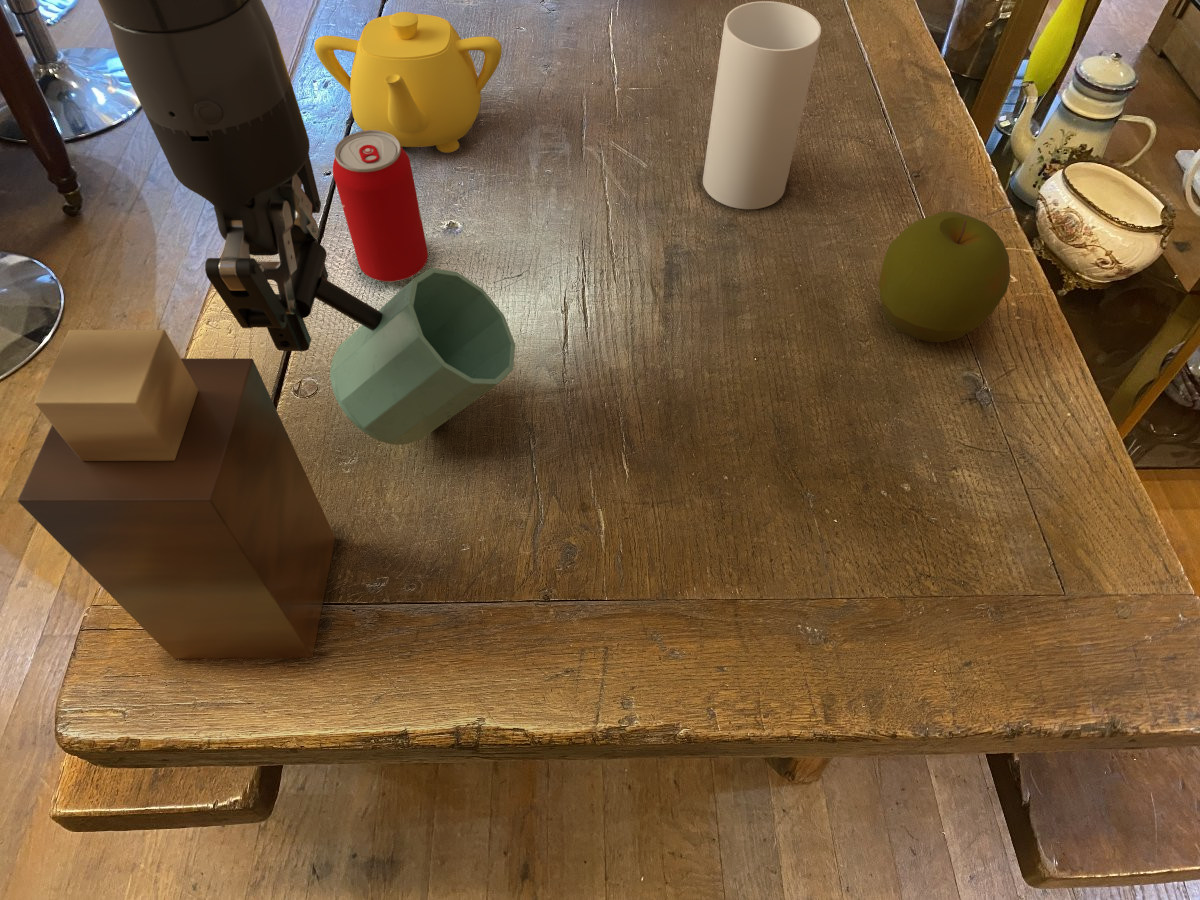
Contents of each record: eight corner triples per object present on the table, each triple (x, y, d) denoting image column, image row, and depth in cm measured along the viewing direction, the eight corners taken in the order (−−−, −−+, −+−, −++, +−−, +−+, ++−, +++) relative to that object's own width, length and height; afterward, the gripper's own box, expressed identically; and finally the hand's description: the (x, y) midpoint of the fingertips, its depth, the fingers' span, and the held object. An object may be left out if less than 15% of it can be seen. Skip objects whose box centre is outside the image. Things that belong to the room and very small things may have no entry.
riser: (312, 658, 56) (210, 500, 40) (172, 659, 55) (16, 501, 40) (335, 537, 61) (253, 357, 46) (208, 538, 61) (81, 357, 45)
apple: (876, 362, 72) (918, 262, 63) (854, 282, 77) (889, 180, 68) (994, 362, 72) (1053, 262, 63) (963, 282, 78) (1012, 180, 69)
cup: (687, 171, 86) (706, 13, 74) (755, 150, 89) (785, -7, 76) (731, 218, 82) (759, 59, 69) (801, 195, 85) (841, 37, 72)
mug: (231, 367, 56) (309, 288, 50) (263, 273, 61) (337, 191, 56) (424, 463, 65) (510, 405, 59) (438, 373, 70) (518, 312, 64)
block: (175, 461, 42) (136, 403, 38) (81, 461, 41) (32, 402, 38) (199, 390, 44) (164, 329, 40) (111, 390, 44) (68, 328, 40)
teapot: (322, 135, 89) (291, 21, 80) (426, 79, 96) (408, -32, 86) (411, 192, 84) (389, 78, 74) (514, 129, 90) (506, 17, 81)
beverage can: (419, 235, 80) (397, 119, 70) (436, 278, 77) (415, 163, 67) (353, 250, 79) (321, 134, 69) (367, 294, 75) (336, 180, 66)
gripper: (182, 12, 49) (273, 243, 62) (94, 168, 40) (221, 395, 54) (313, 12, 49) (376, 243, 62) (253, 169, 40) (340, 396, 54)
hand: (304, 313), depth 58 cm, fingers closed on mug, 5 cm apart
